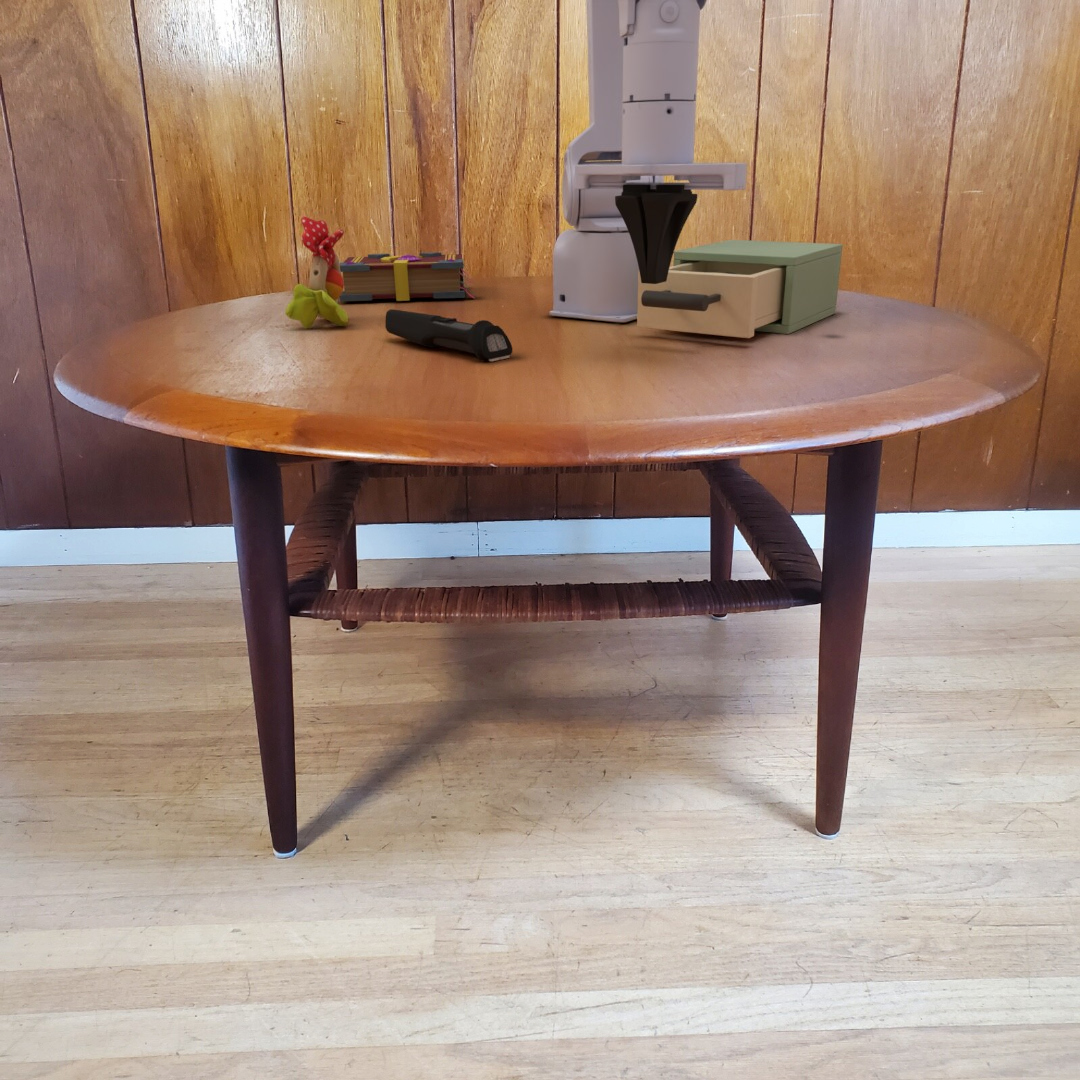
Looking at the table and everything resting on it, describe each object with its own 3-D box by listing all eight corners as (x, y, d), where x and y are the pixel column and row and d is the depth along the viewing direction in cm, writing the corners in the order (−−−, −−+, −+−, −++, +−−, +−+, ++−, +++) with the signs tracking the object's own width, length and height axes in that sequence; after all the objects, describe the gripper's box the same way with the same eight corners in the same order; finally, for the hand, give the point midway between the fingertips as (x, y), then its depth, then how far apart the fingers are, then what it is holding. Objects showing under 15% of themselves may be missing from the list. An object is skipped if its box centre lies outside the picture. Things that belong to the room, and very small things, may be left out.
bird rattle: (301, 340, 101) (279, 319, 92) (300, 239, 101) (278, 208, 92) (358, 339, 101) (342, 318, 92) (357, 238, 101) (340, 208, 92)
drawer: (729, 346, 79) (733, 282, 76) (614, 334, 85) (614, 275, 83) (799, 317, 91) (804, 262, 89) (694, 308, 97) (697, 256, 95)
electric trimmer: (408, 337, 91) (406, 304, 90) (516, 356, 81) (514, 319, 79) (377, 343, 89) (374, 309, 87) (484, 363, 78) (482, 326, 77)
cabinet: (788, 334, 88) (795, 257, 85) (670, 323, 95) (673, 251, 92) (835, 313, 98) (843, 244, 95) (726, 304, 105) (730, 239, 102)
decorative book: (350, 291, 121) (346, 251, 119) (473, 287, 122) (471, 248, 120) (340, 304, 110) (335, 261, 108) (474, 300, 111) (472, 257, 109)
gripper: (553, 105, 73) (555, 282, 78) (723, 96, 65) (712, 294, 70) (600, 107, 78) (599, 273, 83) (762, 99, 70) (749, 283, 75)
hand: (653, 282), depth 77 cm, fingers closed
